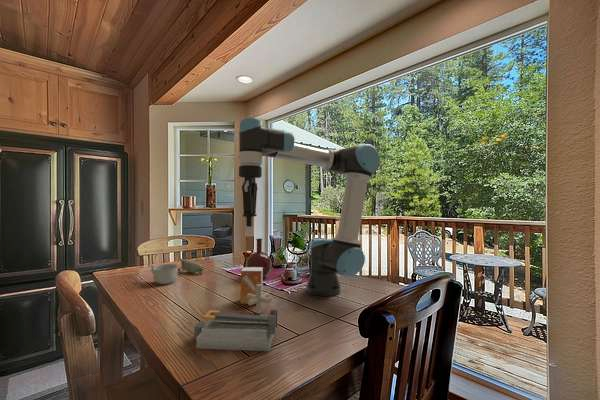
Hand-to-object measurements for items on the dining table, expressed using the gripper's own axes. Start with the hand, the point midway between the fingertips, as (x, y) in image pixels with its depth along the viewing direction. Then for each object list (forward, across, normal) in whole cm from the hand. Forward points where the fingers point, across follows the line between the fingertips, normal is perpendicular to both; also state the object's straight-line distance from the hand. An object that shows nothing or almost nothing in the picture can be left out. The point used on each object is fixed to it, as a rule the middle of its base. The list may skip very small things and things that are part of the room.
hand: (249, 235), depth 97 cm
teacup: (+29, -40, -51) cm, 71 cm away
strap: (+23, +13, +1) cm, 26 cm away
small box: (+29, -18, -3) cm, 34 cm away
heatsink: (+28, +13, 0) cm, 31 cm away
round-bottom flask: (+29, -53, -7) cm, 61 cm away
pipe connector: (+29, -7, +2) cm, 30 cm away
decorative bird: (+29, -58, -46) cm, 79 cm away
